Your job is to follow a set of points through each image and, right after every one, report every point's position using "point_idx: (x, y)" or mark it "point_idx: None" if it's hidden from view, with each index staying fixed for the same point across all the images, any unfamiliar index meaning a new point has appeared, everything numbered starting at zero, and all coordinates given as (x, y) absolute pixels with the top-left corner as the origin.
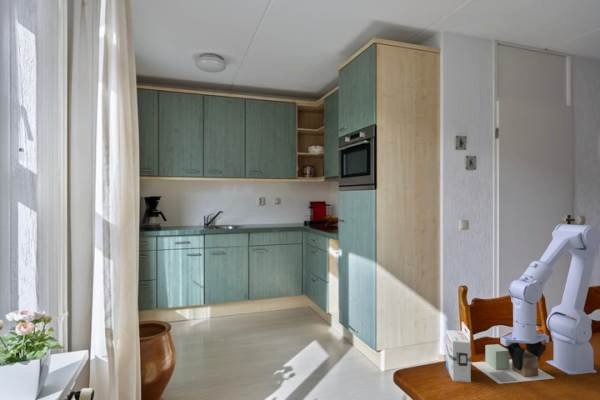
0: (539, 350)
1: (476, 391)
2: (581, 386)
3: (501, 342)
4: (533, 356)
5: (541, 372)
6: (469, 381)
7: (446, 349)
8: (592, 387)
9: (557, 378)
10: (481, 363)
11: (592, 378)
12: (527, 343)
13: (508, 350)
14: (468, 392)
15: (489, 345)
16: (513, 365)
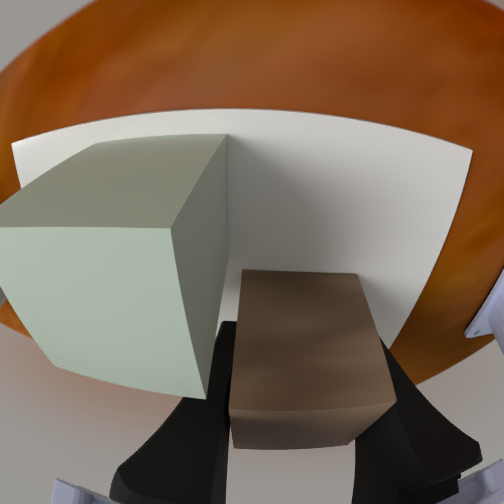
0: (356, 485)
1: (23, 327)
2: (408, 376)
3: (60, 489)
4: (324, 445)
5: (390, 319)
6: (2, 301)
7: None
8: (427, 378)
9: (403, 343)
10: (64, 153)
11: (488, 341)
12: (406, 475)
13: (163, 426)
14: (8, 322)
15: (5, 248)
16: (219, 328)
